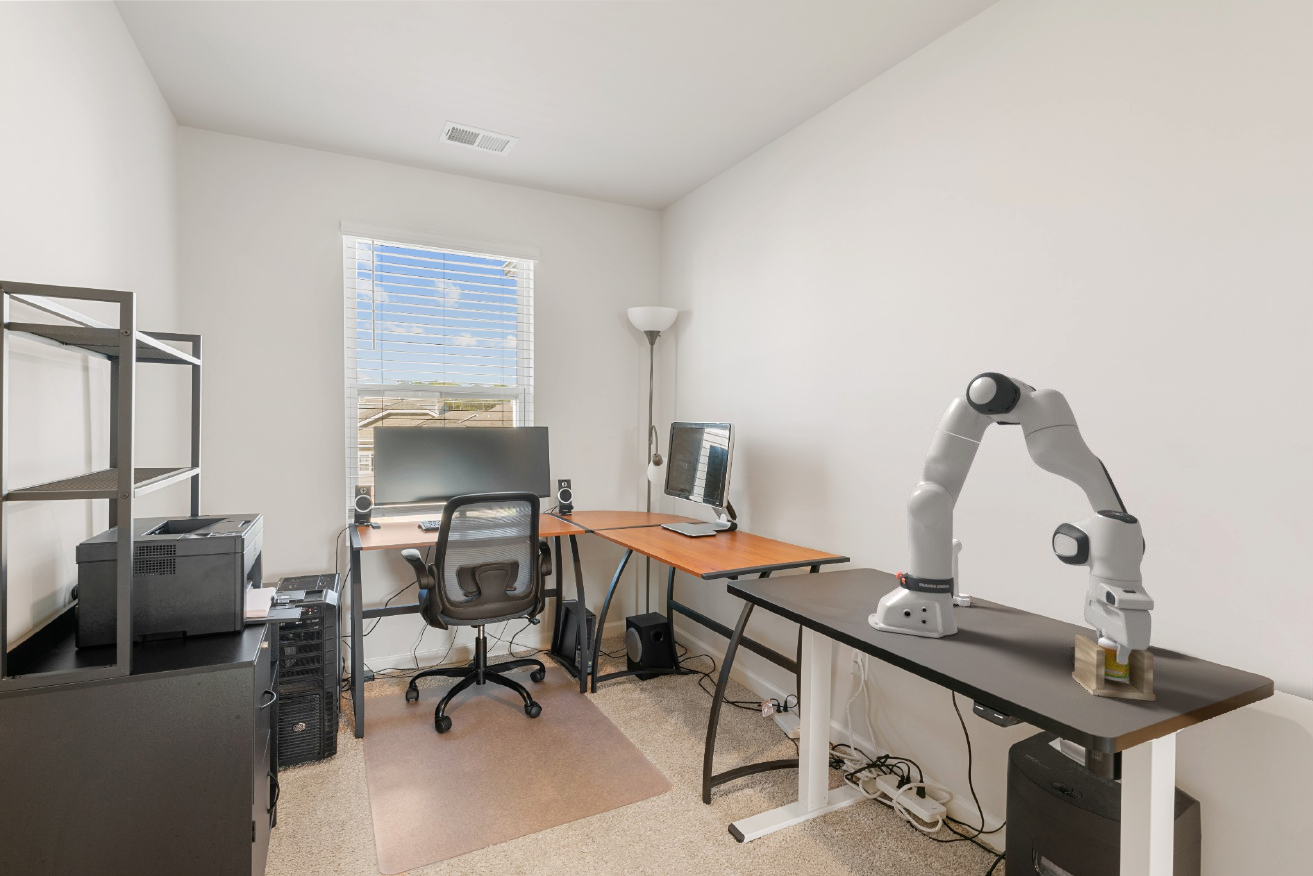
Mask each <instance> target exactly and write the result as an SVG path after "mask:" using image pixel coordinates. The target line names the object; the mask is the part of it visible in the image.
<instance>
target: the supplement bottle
mask: <svg viewBox="0 0 1313 876" xmlns="http://www.w3.org/2000/svg"><path fill="white" fill-rule="evenodd" d="M1102 635H1103V636H1104V637H1102V638H1100V639H1099V640H1098V641H1097V645H1098V646H1100V647H1101V648H1102V649H1104V650H1105V670H1104V678H1106V679H1110V680H1115V681H1128V680H1129V676H1130V654H1129V656H1128V664H1126V665H1125V664H1119V663H1117V662H1116V661H1115V660H1114V658H1115V653H1117V650H1118V646H1117V641H1115V640H1114V639H1112V638H1111V637H1109V636H1108V635H1106V632H1105V630H1104V629H1103V630H1102Z"/></svg>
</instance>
